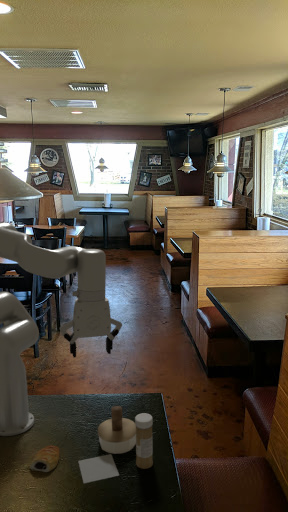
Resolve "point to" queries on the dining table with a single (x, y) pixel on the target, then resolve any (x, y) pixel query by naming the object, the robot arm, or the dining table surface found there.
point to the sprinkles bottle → (144, 440)
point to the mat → (98, 468)
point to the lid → (117, 427)
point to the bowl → (118, 445)
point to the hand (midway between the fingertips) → (91, 353)
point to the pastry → (45, 459)
